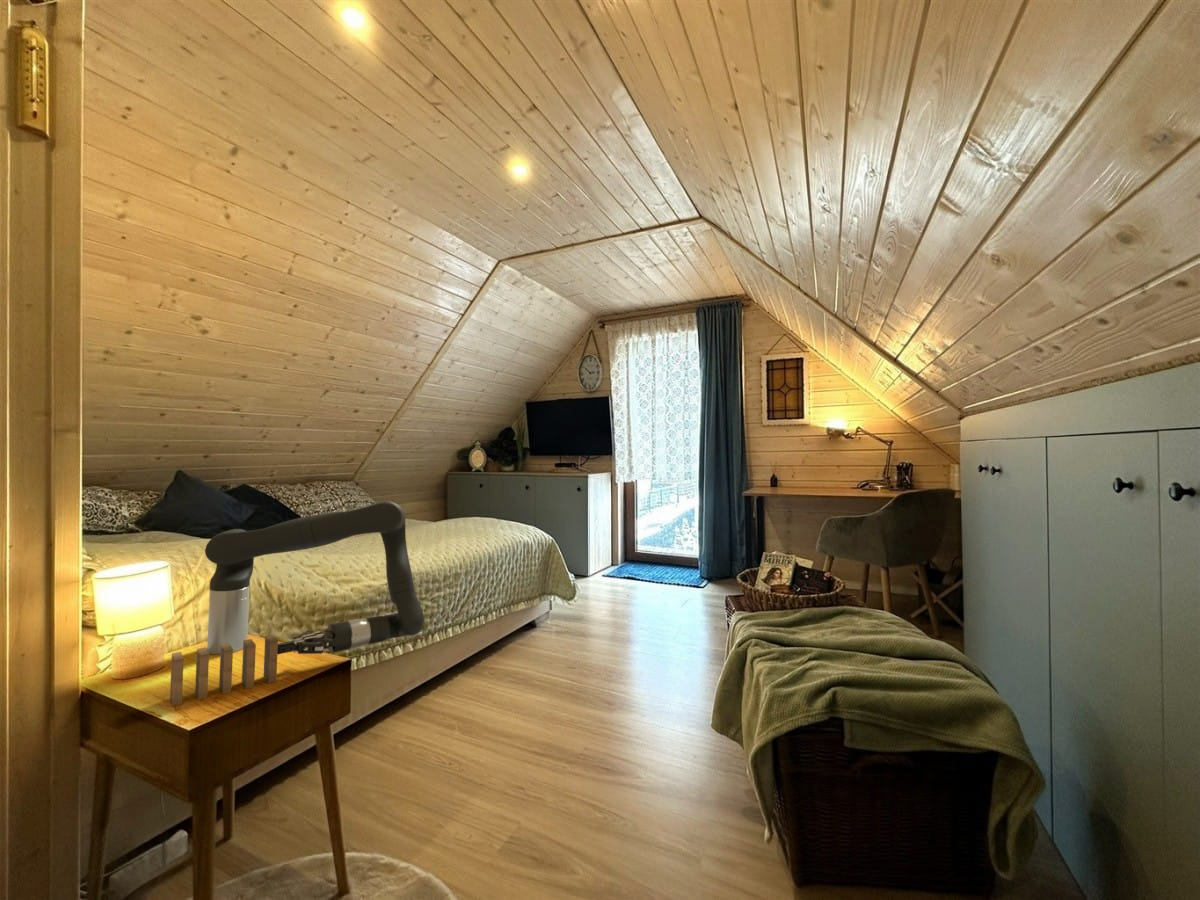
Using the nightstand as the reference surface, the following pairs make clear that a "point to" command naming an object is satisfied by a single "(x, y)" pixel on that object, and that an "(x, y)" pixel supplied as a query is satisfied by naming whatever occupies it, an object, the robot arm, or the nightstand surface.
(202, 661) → the wooden domino
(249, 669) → the tile
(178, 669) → the tile
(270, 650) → the loose tile
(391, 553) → the robot arm
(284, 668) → the nightstand surface
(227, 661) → the tile
